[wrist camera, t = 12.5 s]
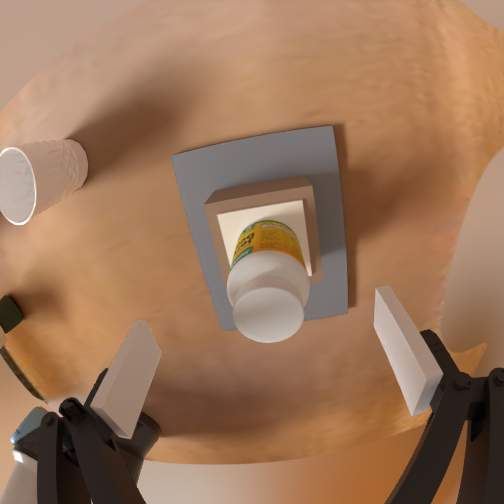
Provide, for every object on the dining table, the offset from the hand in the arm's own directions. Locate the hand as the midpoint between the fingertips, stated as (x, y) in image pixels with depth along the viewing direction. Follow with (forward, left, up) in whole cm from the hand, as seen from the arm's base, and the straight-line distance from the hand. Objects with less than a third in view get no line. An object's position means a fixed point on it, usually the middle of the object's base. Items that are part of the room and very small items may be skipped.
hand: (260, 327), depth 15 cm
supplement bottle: (0, 0, -10) cm, 10 cm away
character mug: (-7, +51, -17) cm, 54 cm away
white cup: (+12, +22, -17) cm, 30 cm away
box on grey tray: (-2, 0, -16) cm, 16 cm away
